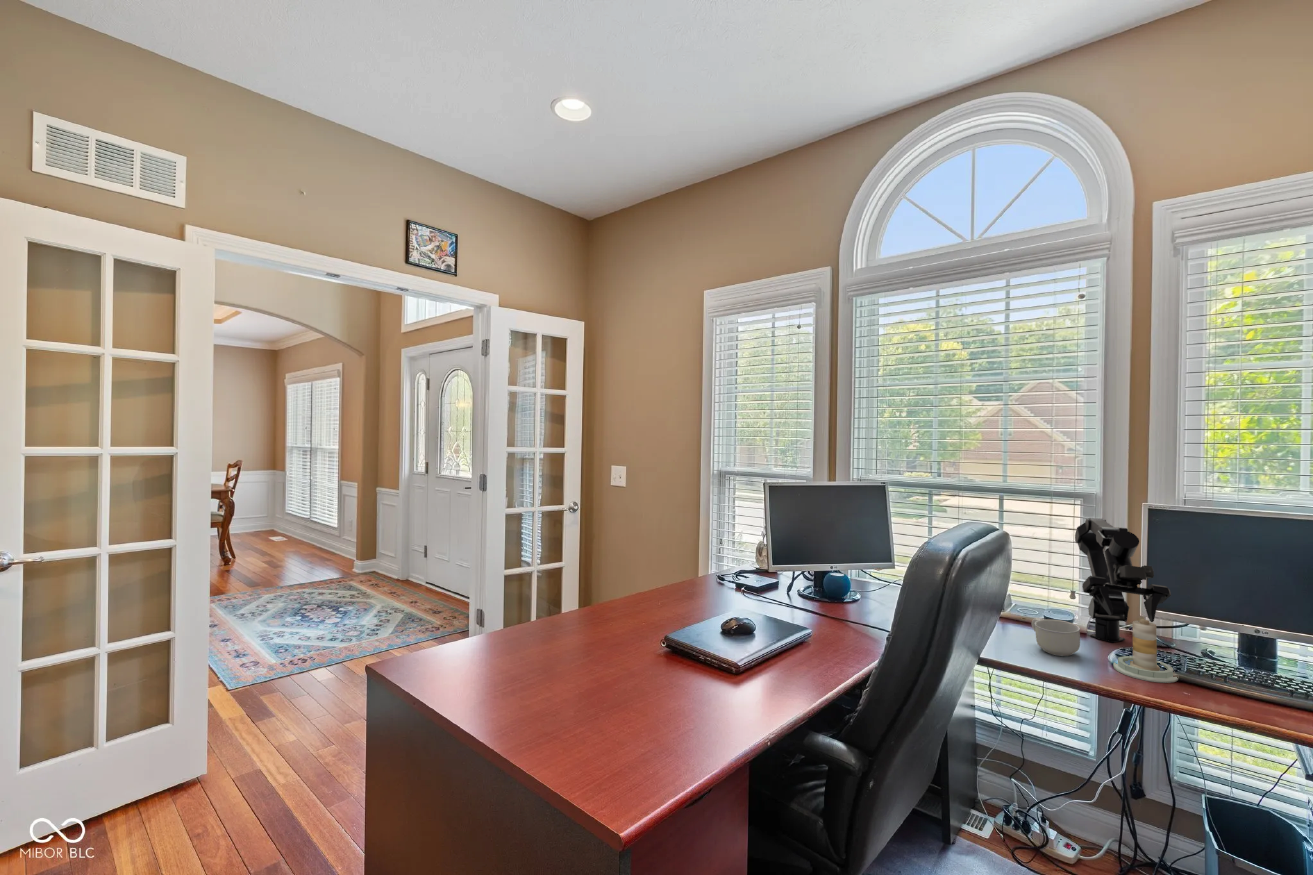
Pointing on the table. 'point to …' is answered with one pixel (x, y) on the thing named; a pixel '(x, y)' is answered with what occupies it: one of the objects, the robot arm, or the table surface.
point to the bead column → (1144, 645)
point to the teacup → (1057, 636)
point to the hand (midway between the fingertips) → (1131, 618)
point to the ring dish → (1145, 671)
